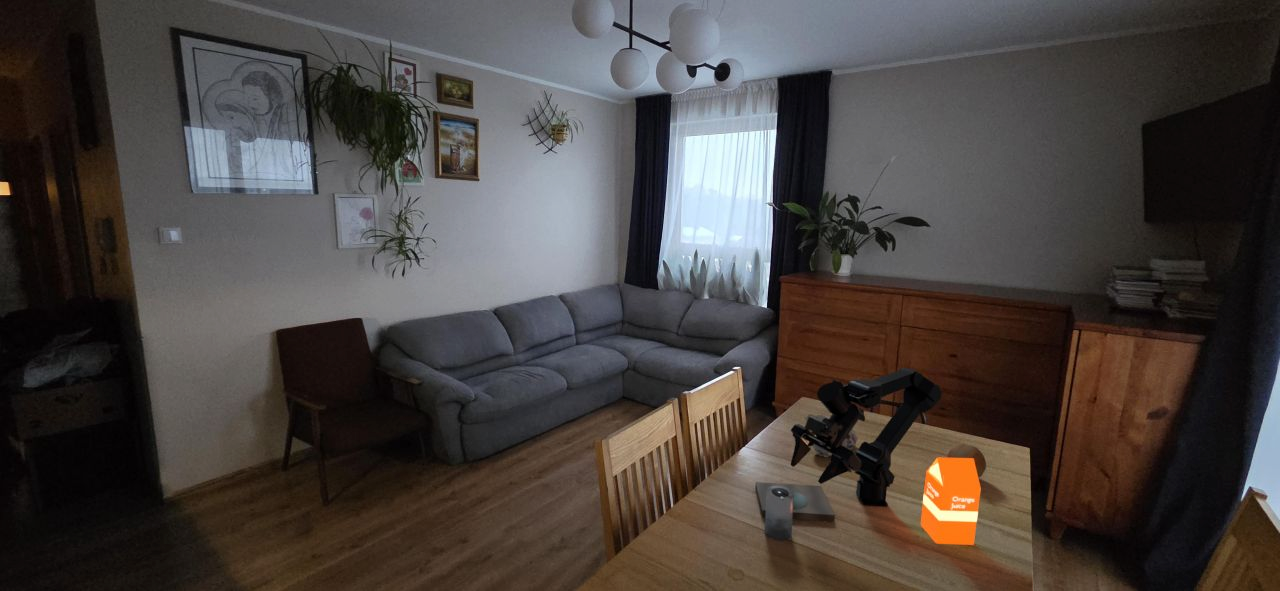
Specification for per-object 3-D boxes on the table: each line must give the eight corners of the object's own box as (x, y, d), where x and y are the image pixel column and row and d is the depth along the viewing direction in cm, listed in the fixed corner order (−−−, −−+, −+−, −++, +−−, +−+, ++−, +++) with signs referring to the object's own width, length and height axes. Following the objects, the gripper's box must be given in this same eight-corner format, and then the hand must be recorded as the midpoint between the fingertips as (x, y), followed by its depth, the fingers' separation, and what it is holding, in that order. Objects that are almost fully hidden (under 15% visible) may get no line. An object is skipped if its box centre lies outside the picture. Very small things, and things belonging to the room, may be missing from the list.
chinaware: (799, 430, 189) (797, 386, 187) (846, 428, 187) (845, 384, 185) (814, 466, 162) (812, 416, 160) (870, 465, 160) (868, 414, 157)
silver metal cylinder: (788, 525, 128) (791, 486, 127) (793, 541, 122) (796, 500, 120) (762, 523, 129) (764, 484, 127) (766, 539, 123) (768, 498, 121)
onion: (951, 483, 150) (955, 450, 148) (941, 467, 159) (944, 436, 158) (989, 488, 147) (993, 455, 146) (976, 471, 157) (980, 440, 155)
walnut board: (820, 492, 144) (821, 485, 143) (834, 522, 130) (835, 514, 130) (755, 488, 146) (755, 481, 145) (762, 517, 132) (762, 509, 131)
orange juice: (919, 524, 130) (928, 449, 126) (955, 525, 129) (964, 450, 126) (936, 544, 122) (945, 465, 119) (974, 545, 122) (984, 466, 118)
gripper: (798, 394, 135) (763, 441, 132) (856, 419, 119) (818, 474, 115) (817, 417, 140) (784, 464, 137) (877, 445, 123) (841, 498, 120)
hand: (805, 474), depth 127 cm, fingers open, 9 cm apart
